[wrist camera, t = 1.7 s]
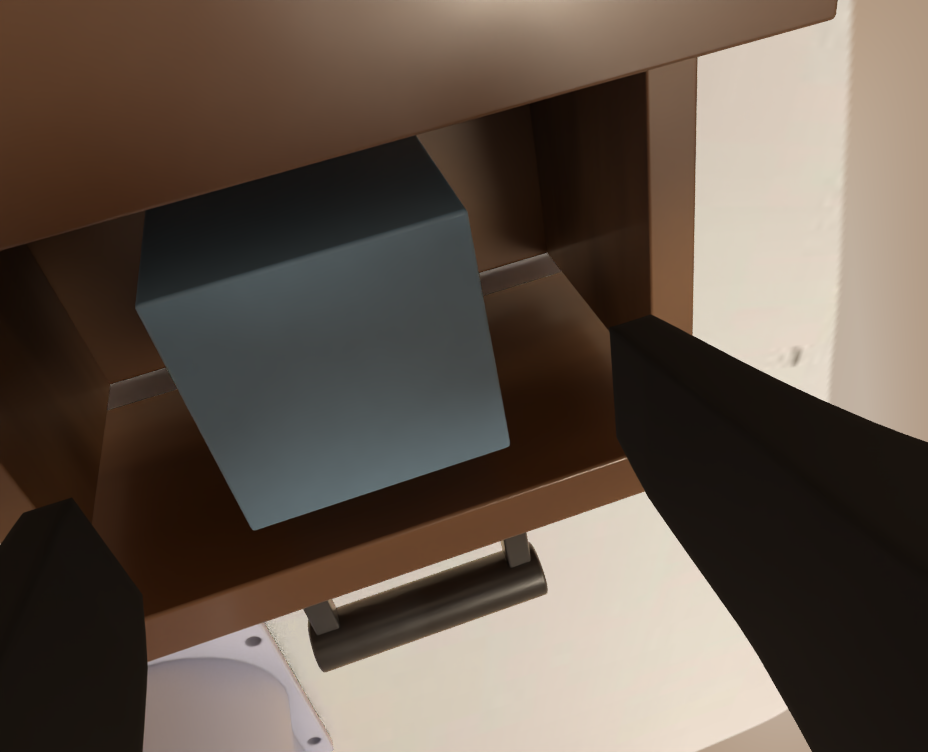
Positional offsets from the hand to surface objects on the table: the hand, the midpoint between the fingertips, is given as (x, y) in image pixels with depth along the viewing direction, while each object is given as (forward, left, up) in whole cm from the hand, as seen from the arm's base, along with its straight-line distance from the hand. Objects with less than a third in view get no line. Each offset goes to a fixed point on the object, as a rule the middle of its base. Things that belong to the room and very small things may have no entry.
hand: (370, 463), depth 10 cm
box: (0, 0, -8) cm, 8 cm away
